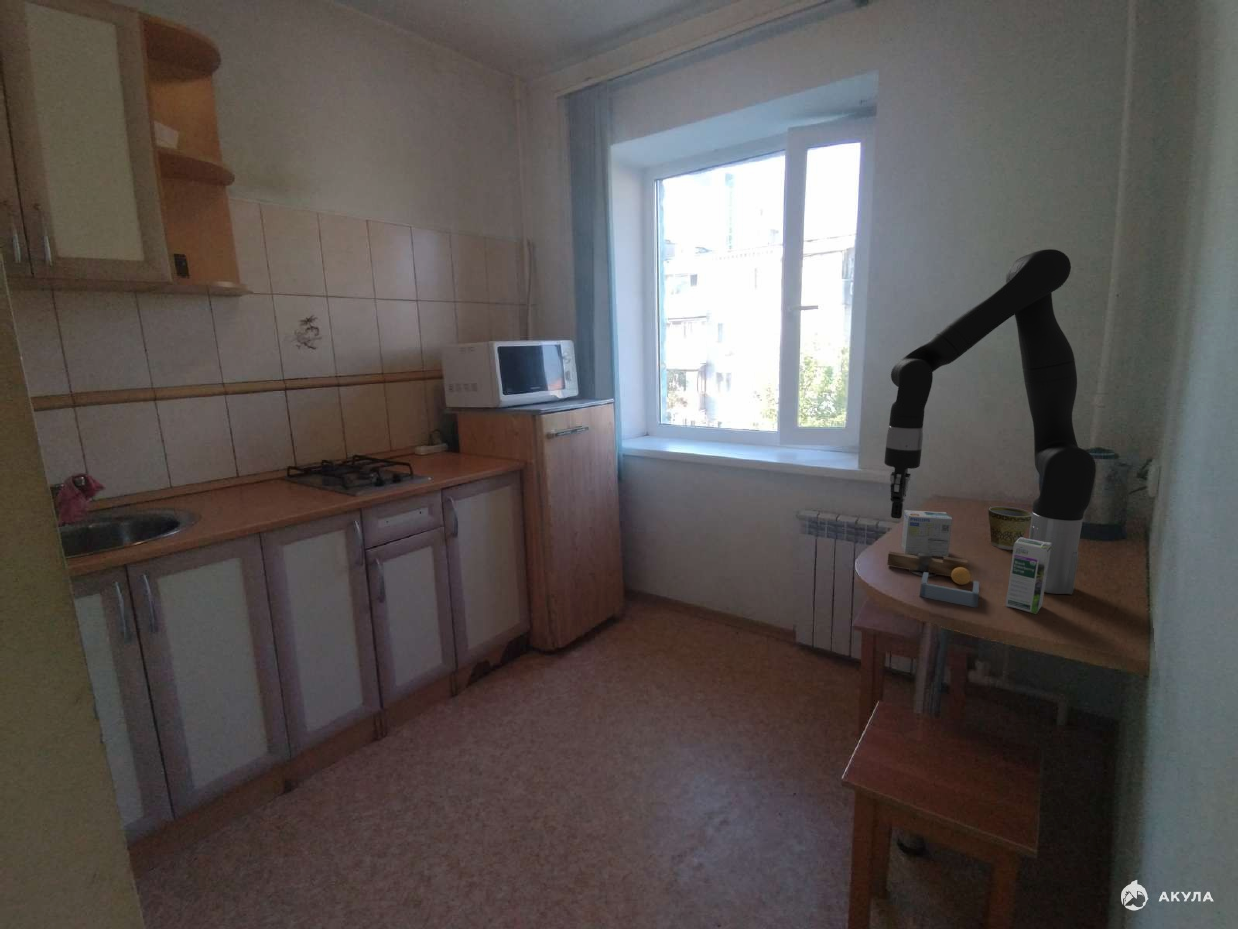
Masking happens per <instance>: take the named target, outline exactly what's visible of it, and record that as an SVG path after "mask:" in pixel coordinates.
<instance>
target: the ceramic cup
mask: <svg viewBox="0 0 1238 929" xmlns="http://www.w3.org/2000/svg"><path fill="white" fill-rule="evenodd" d="M987 509H988V510H987V512H988V513H987V514H988V523H989V531H990V544H991V546H994V547H995V548H998V549H1002V550H1008V551H1013V549H1014V543H1015V542H1016V541H1017V540H1018V539H1019V538H1020V537H1023V538H1024V536H1025V533H1026V530H1027V529H1028V528H1029V526H1030V522H1031V515H1032V512H1030V511H1029V510H1025V509H1021V508H1017V507H1013V506H1012V507H1010V506H1000V505H999V506H991V507H988V508H987Z"/></svg>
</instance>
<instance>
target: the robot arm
mask: <svg viewBox="0 0 1238 929" xmlns="http://www.w3.org/2000/svg"><path fill="white" fill-rule="evenodd" d="M1071 269H1072V266H1071V261H1070V258H1069V257H1068V255H1066V254H1065V253H1064V252H1063V251H1061V250H1058V249H1053V248H1052V249H1051V248H1050V249H1049V248H1048V249H1041V250H1038V251H1034V252H1031V253H1029V254H1026V255H1024V256H1020V257H1019V258H1018V259H1016V260H1015V261H1013V263H1012V264H1011V265H1010V266H1009V268H1008V270H1007V272H1006V276H1005V284H1003V285H1002V286H1001V287H1000V288H999V289H998V290H996V291H995V292H994V293H992V294H991V295H990V296H989V297H987V298H986V299H984V300H983V301H981V302H979V303H978V304H977V305H975V306H973V307H972V308H970V309H968V310H967V311H966V312H964V313H963V314H961V315H960V316H958V317H956V318H955V319H954V320H952V321H951V322H950V323H949V324H947V325H946V326H945V327H943V328H942V329H941V330H939V331H938V332H937V333H936V334H935V335H934V336H933V337H931V338H930V339H929V340H928V341H927V342H925V343H923V344H922V345H920V346H918V347H916V348H915V349H913V350H912V351H911V352H909V353H908V354H906V355H905V356H903V357H902V358H900V360H898V361H897V362H896V363H895V364H894V366H893V367H892V369H891V372H890V378H891V379H890V380H891V381H892V384H894V385H895V387H897V391H896V392H897V394H896V399H895V401H894V402H893V403H892V404H891V408H890V416H889V425H888V430H887V433H886V434H887V435H886V442H885V451H884V462H883V463H884V465H886V466H888V467H892V468H894V470H893V471H892V472H891V473H890V479H889V481H890V485H889V486H890V490H889V491H890V502H891V511H890V517H891V518H893V519H899V520H900V519H901V518H902V516H903V507H904V503H905V500H906V497H907V492H908V491H909V482H910V480H911V473H909V472H908V471H909V469H910V470H911V469H917V468H919V467H920V466H921V459H922V458H921V456H922V449H923V441H924V439H923V438H924V433H923V430H924V418H925V408H926V405H927V403H928V399H929V397H930V392H931V389H932V385H933V380H934V378H933V376H934V374H933V373H934V372H936V371H937V369H940V368H942V367H943V366H947V365H949V364H951V363H953V362H954V361H956V360H957V359H958V358H960V357H961V356H963V355H964V354H965V353H966V352H967V351H969V350H971V349H972V347H974V346H976V345H977V344H978V343H980V341H982V339H984V338H985V337H986V336H988V335H989V334H990V333H992V332H993V331H994V330H996V329H997V328H998V327H999V326H1001V325H1002V324H1003V323H1005V322H1006V321H1007V320H1009V319H1010V318H1012V317H1013V316H1014V319H1015V323H1016V328H1017V337H1018V343H1019V350H1020V356H1021V366H1022V368H1021V369H1022V374H1023V379H1024V386H1025V391H1026V397H1027V401H1028V407H1029V412H1030V414H1031V419H1032V424H1033V425H1032V426H1033V440H1034V441H1033V446H1034V448H1033V449H1034V466H1035V469H1036V471H1037V473H1038V474H1039V475H1040V476H1041V477H1042V483H1041V488H1040V492H1039V496H1038V497H1037V498H1035V499H1034V501H1033V503H1032V510H1031V514H1032V515H1031V520H1030V522H1029V529H1028V530H1029V531H1028V537H1027V539H1032V540H1037V541H1042V542H1049V543H1051V551H1050V557H1049V563H1048V570H1047V577H1046V583H1045V589H1044V593H1047V594H1055V595H1057V594H1058V595H1064V594H1066V595H1073V593H1074V587H1075V581H1076V574H1077V570H1078V569H1077V568H1078V563H1079V556H1080V555H1079V554H1080V553H1079V551H1078V549H1079V544H1080V538H1081V531H1082V526H1083V521H1084V520H1083V519H1084V514H1085V512H1086V510H1087V508H1088V507H1089V505H1090V502H1091V498H1092V494H1093V488H1094V484H1095V479H1096V472H1097V470H1096V468H1097V466H1096V465H1097V464H1096V460H1095V458H1094V457H1093V455H1092V454H1091V453H1090V452H1088V451H1087V450H1086V449H1084V448H1081V447H1079V444H1078V443H1077V439H1076V435H1075V429H1074V424H1073V412H1074V410H1073V409H1074V406H1075V402H1076V397H1077V396H1076V395H1077V389H1078V375H1077V374H1078V373H1077V368H1076V361H1075V356H1074V355H1075V354H1074V351H1073V349H1072V346H1071V344H1070V342H1069V340H1068V338H1067V337H1066V334H1065V333H1064V332H1063V330H1062V328H1061V327H1060V325H1059V322H1058V321H1057V318H1056V315H1055V311H1054V306H1053V304H1054V303H1053V295H1052V293H1053V292H1055V291H1056V290H1059V288H1061V287H1062V286H1063V285H1064V284H1065V283H1066V282H1067V280H1068V278H1069V277H1070V274H1071Z"/></svg>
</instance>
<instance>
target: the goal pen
mask: <svg viewBox="0 0 1238 929" xmlns="http://www.w3.org/2000/svg"><path fill="white" fill-rule="evenodd" d="M928 574H929V573H927V572H924V573H923V576H921V580H920V586H919V587H920V589H919V597H921V598H925V599H926V598H927V599H929V600H936V601H940V602H944V603H952V604H955V605H961V606H967V607H972V608H976V609H977V608H978V604H979V596H980V581H977V580H973V584H972V591H970V590H965V589H958V588H955V587H954V588H953V587H949V586H943V585H936V584H932V583H928V581H929V577H928Z"/></svg>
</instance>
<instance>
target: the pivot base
mask: <svg viewBox="0 0 1238 929" xmlns="http://www.w3.org/2000/svg"><path fill="white" fill-rule="evenodd" d="M909 572H910V573H911V574H913V575H915V576H918V575H919V576H920V577H923V573H924V572H921V571H918V570H913V569H909ZM927 573H929V574H928V578H934V577H936V576H937V575H938V574H936V573H930V572H927Z"/></svg>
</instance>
